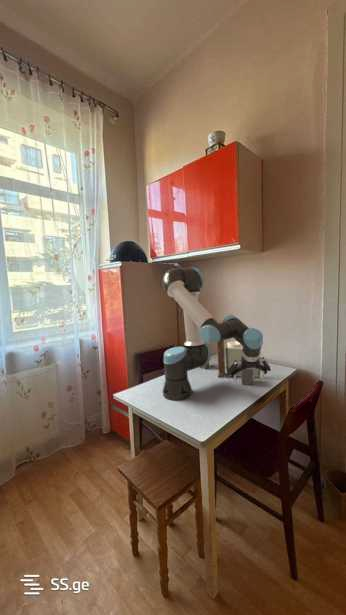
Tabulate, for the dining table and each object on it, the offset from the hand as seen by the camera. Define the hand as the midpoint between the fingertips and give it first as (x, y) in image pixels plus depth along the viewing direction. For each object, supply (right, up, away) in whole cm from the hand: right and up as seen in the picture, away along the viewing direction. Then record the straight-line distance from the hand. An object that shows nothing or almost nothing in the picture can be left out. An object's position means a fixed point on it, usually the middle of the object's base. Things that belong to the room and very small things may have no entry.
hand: (247, 378), depth 125 cm
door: (+4, -4, +20) cm, 21 cm away
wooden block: (-18, -4, +41) cm, 45 cm away
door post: (-8, -5, +23) cm, 25 cm away
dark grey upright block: (+3, -6, +12) cm, 13 cm away
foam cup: (+6, -2, +47) cm, 48 cm away
